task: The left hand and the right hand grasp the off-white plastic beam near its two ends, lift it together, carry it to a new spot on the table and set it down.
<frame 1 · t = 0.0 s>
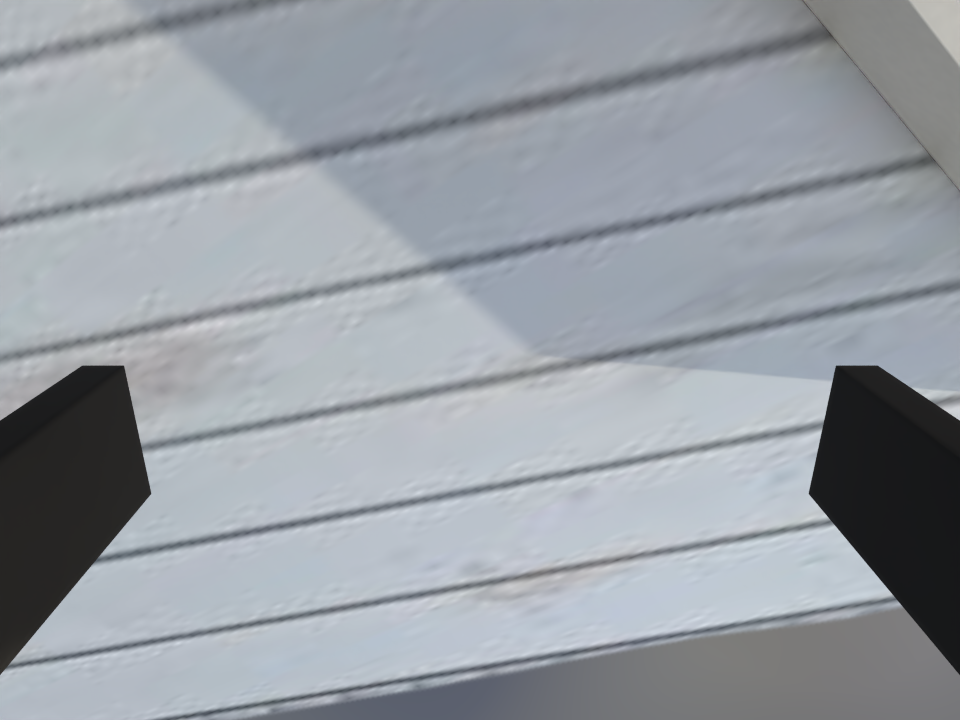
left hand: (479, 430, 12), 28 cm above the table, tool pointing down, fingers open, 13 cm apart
beam: (930, 56, 36), on the table
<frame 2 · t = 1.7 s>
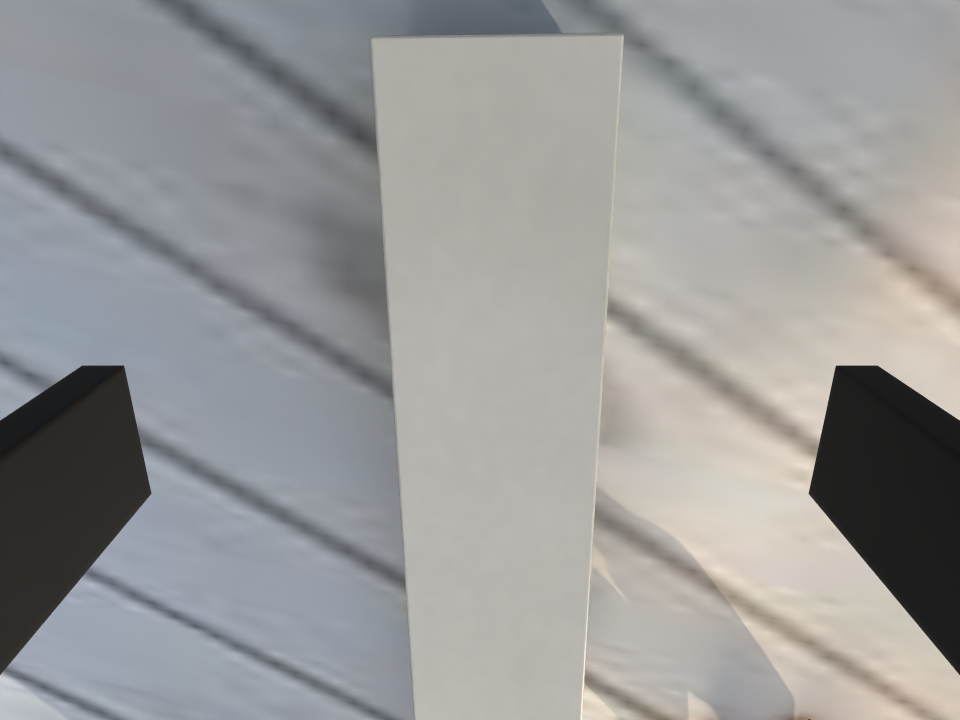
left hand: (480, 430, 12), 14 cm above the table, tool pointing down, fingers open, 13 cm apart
beam: (494, 675, 33), on the table
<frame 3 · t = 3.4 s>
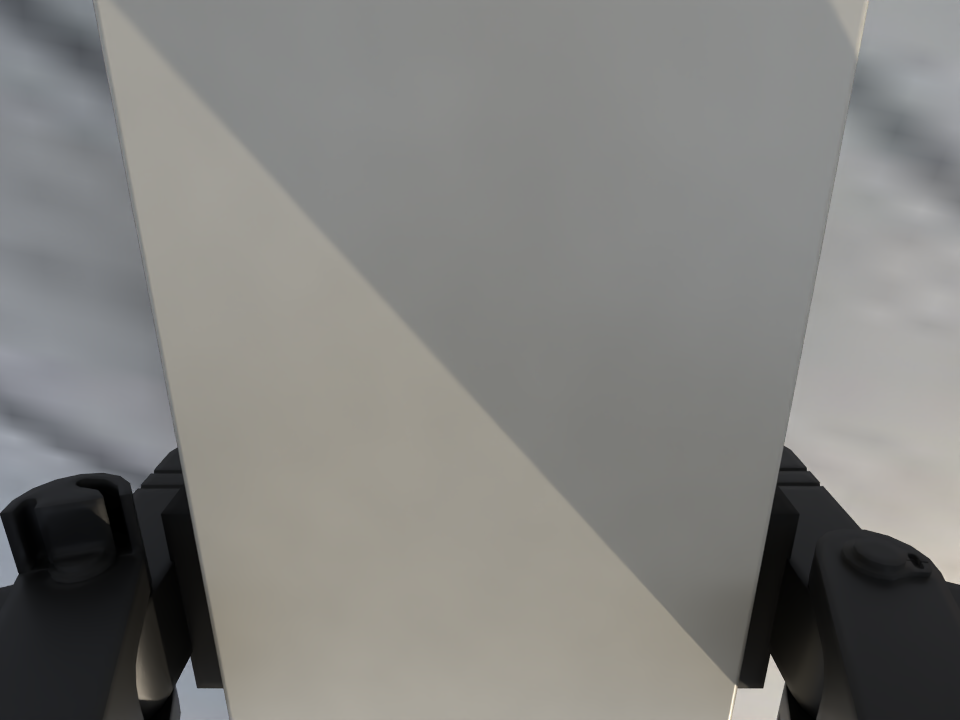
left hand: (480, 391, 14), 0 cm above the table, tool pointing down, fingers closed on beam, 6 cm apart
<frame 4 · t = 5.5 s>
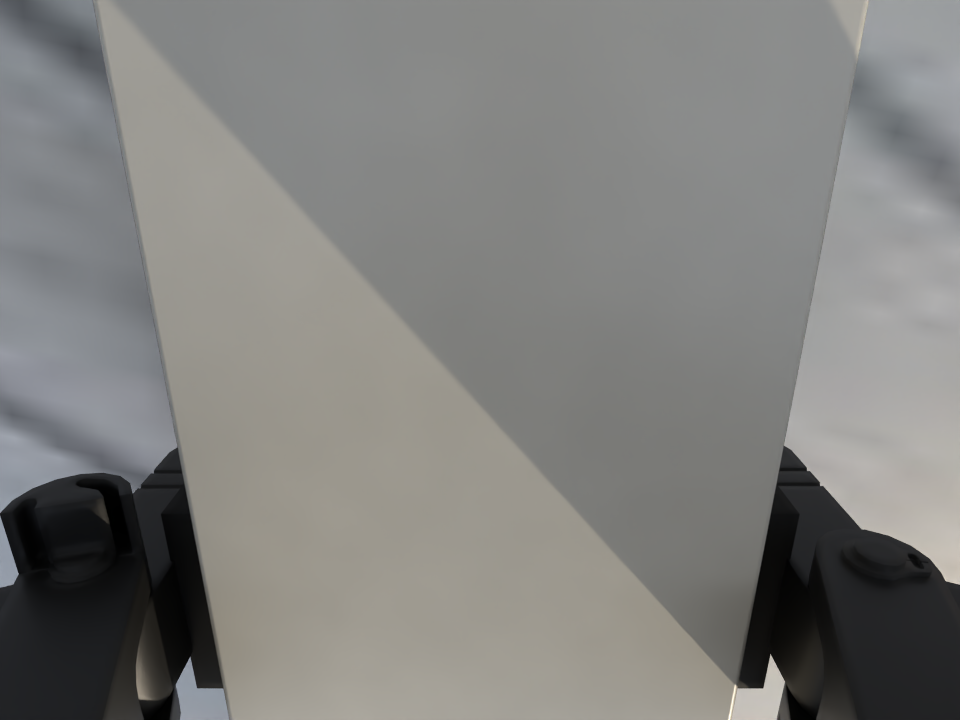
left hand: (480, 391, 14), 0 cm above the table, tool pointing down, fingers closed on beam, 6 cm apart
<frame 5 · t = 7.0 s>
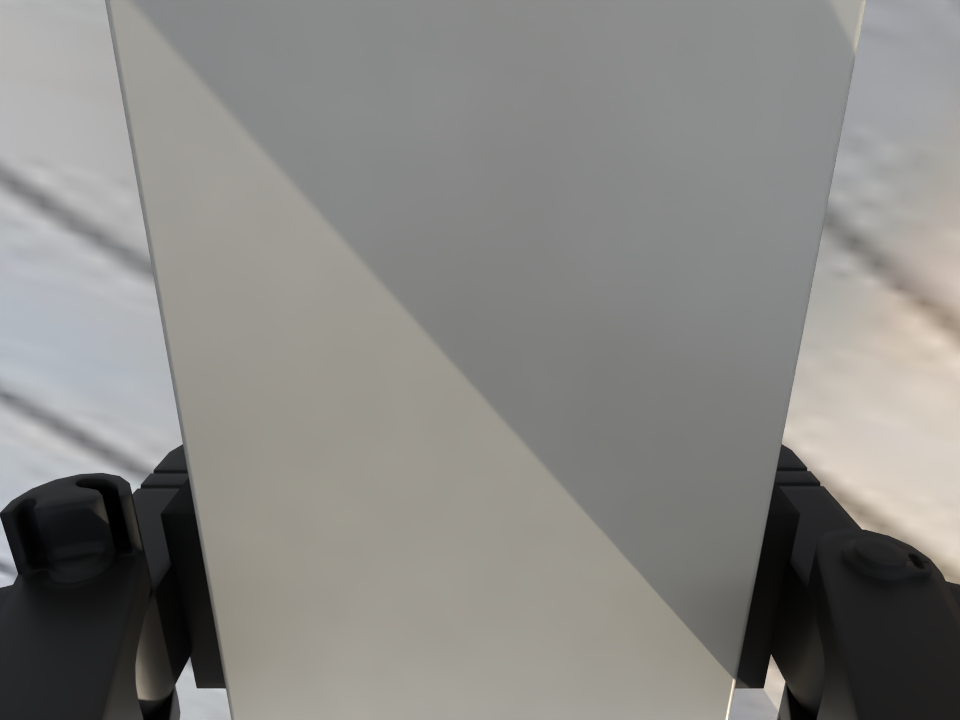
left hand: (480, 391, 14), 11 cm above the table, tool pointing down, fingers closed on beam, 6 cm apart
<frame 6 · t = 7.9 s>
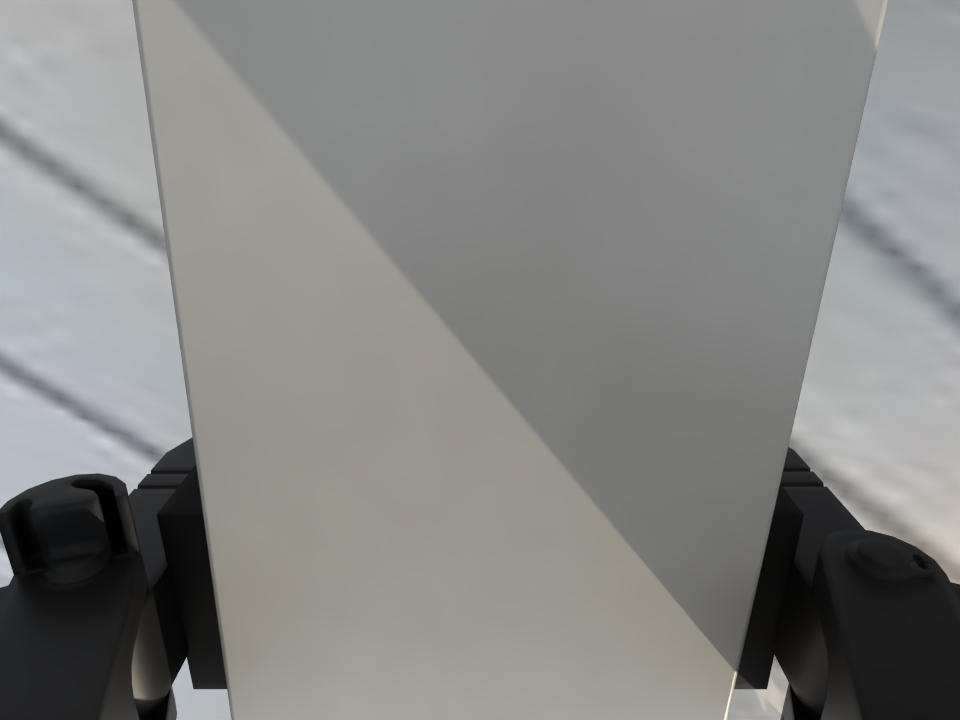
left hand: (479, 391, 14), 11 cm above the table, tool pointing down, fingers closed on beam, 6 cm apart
when the left hand's fingers open (1 cm above the table, at t = 10.4 s): beam stays where it is, on the table.
when the right hand's fingers open (1 cm above the table, at t = 10.4 s): beam stays where it is, on the table.
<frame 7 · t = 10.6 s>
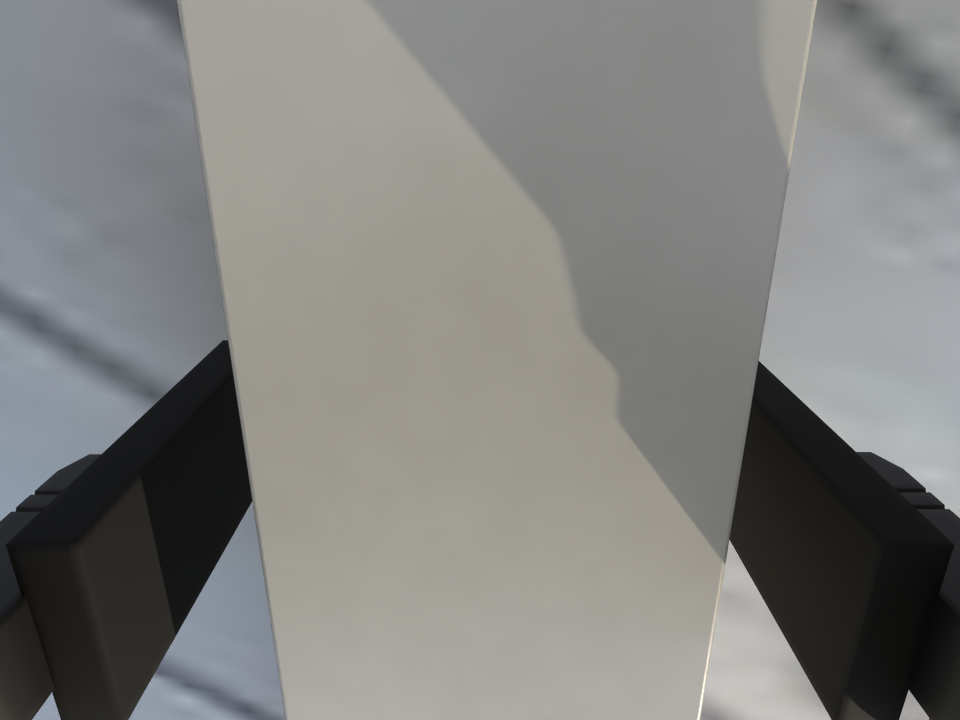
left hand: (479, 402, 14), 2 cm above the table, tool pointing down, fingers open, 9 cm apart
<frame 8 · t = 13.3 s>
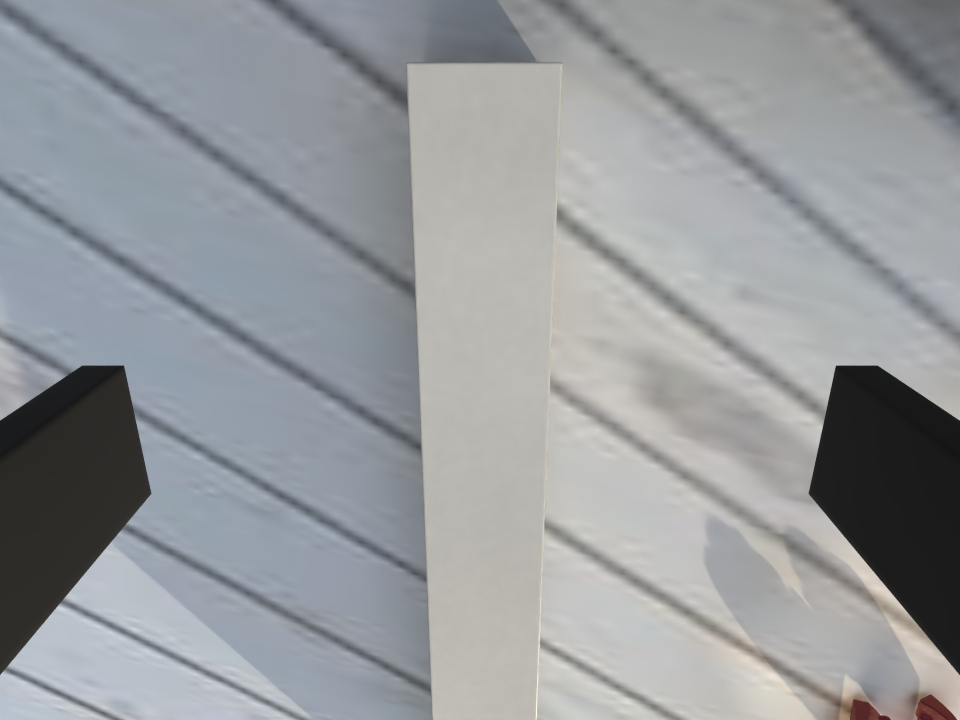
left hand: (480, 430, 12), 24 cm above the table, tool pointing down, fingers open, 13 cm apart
beam: (483, 545, 42), on the table
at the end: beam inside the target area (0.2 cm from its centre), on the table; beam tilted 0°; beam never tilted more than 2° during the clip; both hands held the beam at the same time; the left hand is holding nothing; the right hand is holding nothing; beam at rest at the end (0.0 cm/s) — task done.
